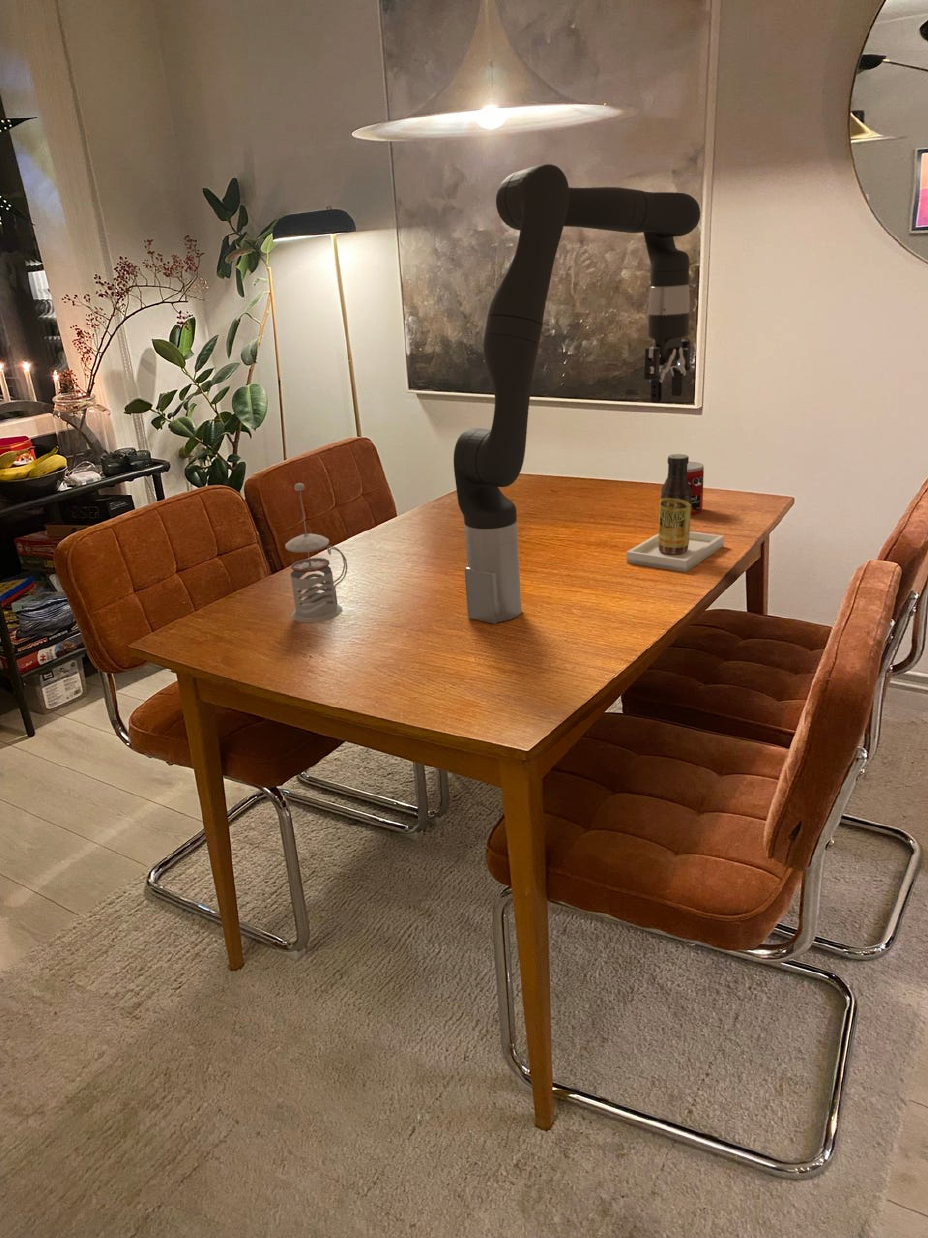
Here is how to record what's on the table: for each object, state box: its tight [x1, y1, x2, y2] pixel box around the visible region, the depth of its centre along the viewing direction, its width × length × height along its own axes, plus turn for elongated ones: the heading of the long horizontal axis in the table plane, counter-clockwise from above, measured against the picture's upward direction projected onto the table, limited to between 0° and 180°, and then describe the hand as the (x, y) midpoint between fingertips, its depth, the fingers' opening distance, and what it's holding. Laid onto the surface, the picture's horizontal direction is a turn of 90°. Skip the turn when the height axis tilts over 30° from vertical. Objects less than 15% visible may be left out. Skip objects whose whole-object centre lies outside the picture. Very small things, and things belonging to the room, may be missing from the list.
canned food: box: [687, 461, 705, 516], centre depth 219 cm, size 8×8×11 cm
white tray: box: [626, 530, 725, 573], centre depth 192 cm, size 18×13×2 cm
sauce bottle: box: [657, 453, 692, 554], centre depth 188 cm, size 7×6×20 cm
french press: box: [285, 482, 348, 624], centre depth 171 cm, size 10×12×25 cm
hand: (667, 398), depth 180 cm, fingers open, 8 cm apart
